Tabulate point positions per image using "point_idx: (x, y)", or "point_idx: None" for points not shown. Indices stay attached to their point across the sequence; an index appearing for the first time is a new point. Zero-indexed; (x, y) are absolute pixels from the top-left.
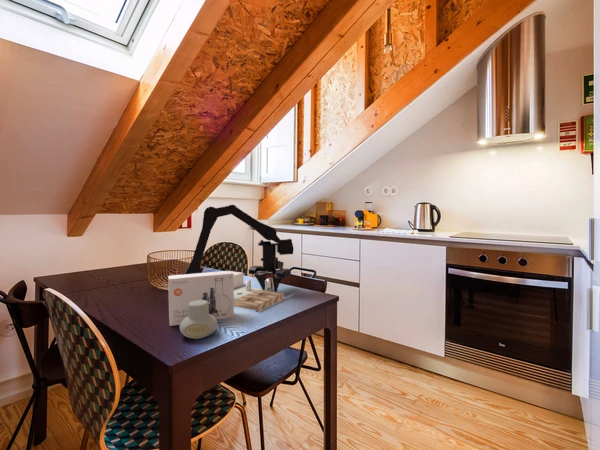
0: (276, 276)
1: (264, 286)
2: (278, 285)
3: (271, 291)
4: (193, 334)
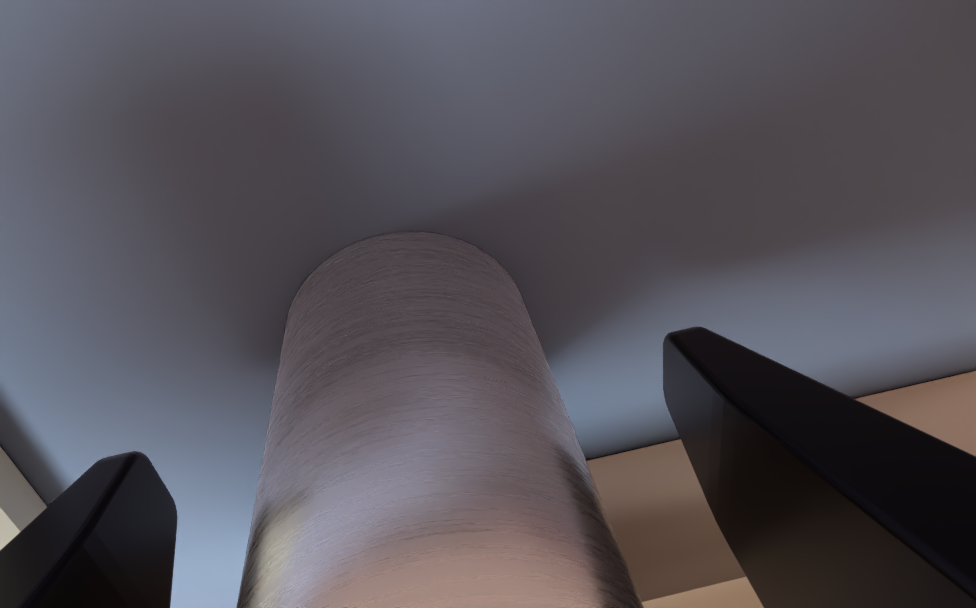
0: None
1: (105, 596)
2: (950, 469)
3: (705, 592)
4: None
